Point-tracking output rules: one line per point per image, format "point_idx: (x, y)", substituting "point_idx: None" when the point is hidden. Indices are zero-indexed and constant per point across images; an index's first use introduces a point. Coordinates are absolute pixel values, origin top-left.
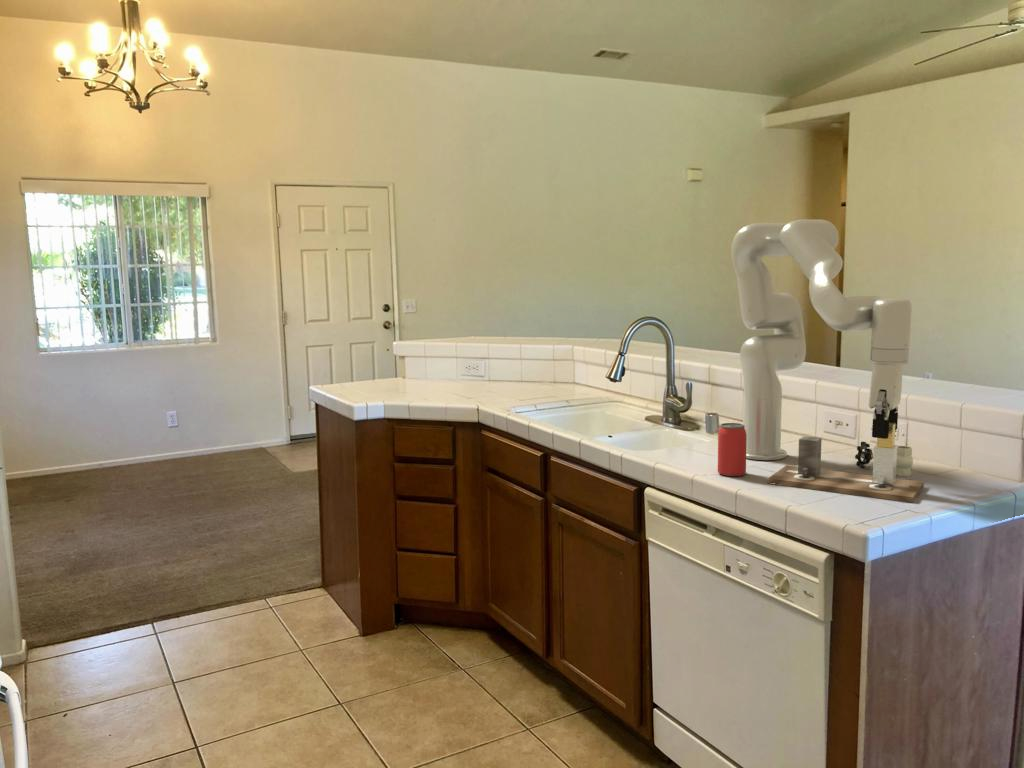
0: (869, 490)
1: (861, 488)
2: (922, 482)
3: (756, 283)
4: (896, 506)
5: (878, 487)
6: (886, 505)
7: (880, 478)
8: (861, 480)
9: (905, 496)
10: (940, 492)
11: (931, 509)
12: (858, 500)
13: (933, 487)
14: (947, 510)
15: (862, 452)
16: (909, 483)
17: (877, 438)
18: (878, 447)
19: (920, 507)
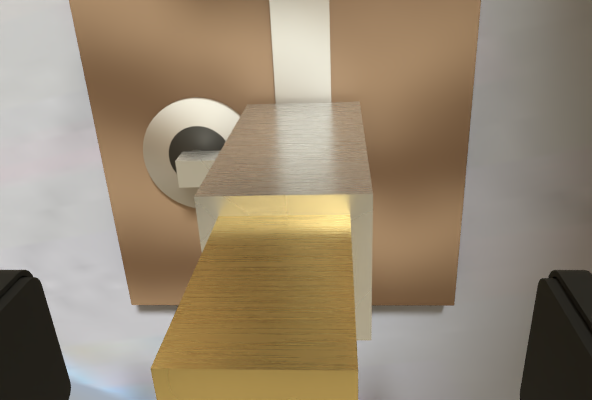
0: (115, 116)
1: (125, 69)
2: (437, 302)
3: None
4: (42, 245)
5: (176, 152)
6: (26, 208)
7: (189, 173)
8: (290, 26)
9: (126, 277)
10: (387, 354)
11: (98, 354)
12: (10, 81)
13: (466, 323)
14: (125, 396)
15: None
16: (382, 257)
17: (199, 260)
18: (200, 232)
19: (96, 321)
